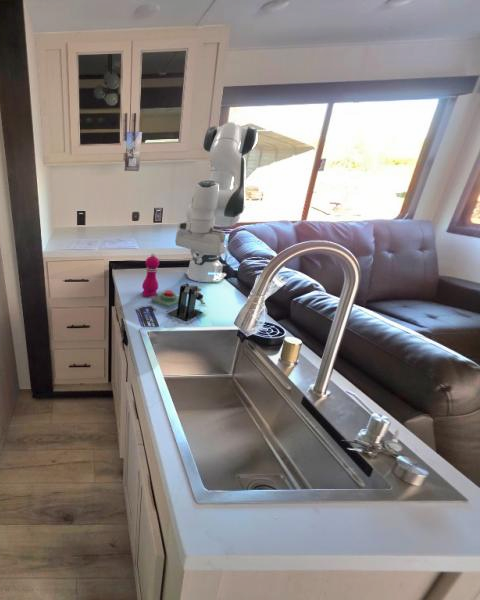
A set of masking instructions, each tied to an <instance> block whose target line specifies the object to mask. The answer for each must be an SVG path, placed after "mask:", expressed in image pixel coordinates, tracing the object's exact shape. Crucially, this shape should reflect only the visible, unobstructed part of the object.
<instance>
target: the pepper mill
mask: <svg viewBox="0 0 480 600" xmlns="http://www.w3.org/2000/svg"><path fill="white" fill-rule="evenodd" d="M159 265H160V260H159V258H158V257H156V253H151V254H150V256H149V257H147V258H146V259H145V266H146V267H145V268H146V269H145V270H146V276H145V279H144V280H143V282H142V287H141V288H142V289H143V290H142V296H143V297H145V298H151V297H154V296H157V291H158V289H159V283H158V280H157V272H158V267H159Z"/></svg>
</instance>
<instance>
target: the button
mask: <svg viewBox="0 0 480 600" xmlns="http://www.w3.org/2000/svg"><path fill="white" fill-rule="evenodd" d="M164 292H165V294H164V295H165V296H168V297H172V296H173V293H174V291H173V290H169V289H168V290H164Z"/></svg>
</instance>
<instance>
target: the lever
mask: <svg viewBox="0 0 480 600" xmlns="http://www.w3.org/2000/svg"><path fill="white" fill-rule="evenodd" d="M189 289H190V287H187V286H186V287H185V289H184V292H185V293H187V295H189ZM203 298H204V294H203V293H202V292H199V293H197V296H196V301H201V299H202V300H203Z"/></svg>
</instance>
